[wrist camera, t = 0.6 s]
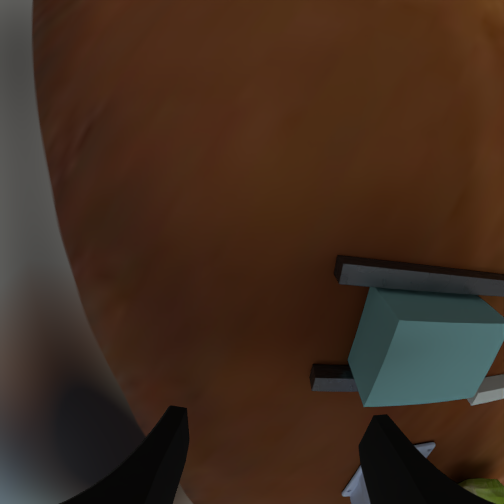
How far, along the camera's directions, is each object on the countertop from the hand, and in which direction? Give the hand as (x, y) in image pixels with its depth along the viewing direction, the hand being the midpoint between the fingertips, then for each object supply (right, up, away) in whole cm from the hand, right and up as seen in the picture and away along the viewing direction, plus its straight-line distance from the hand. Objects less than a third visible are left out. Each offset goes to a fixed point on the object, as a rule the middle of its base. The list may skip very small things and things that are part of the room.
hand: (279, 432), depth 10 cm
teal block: (+10, +2, +9) cm, 14 cm away
